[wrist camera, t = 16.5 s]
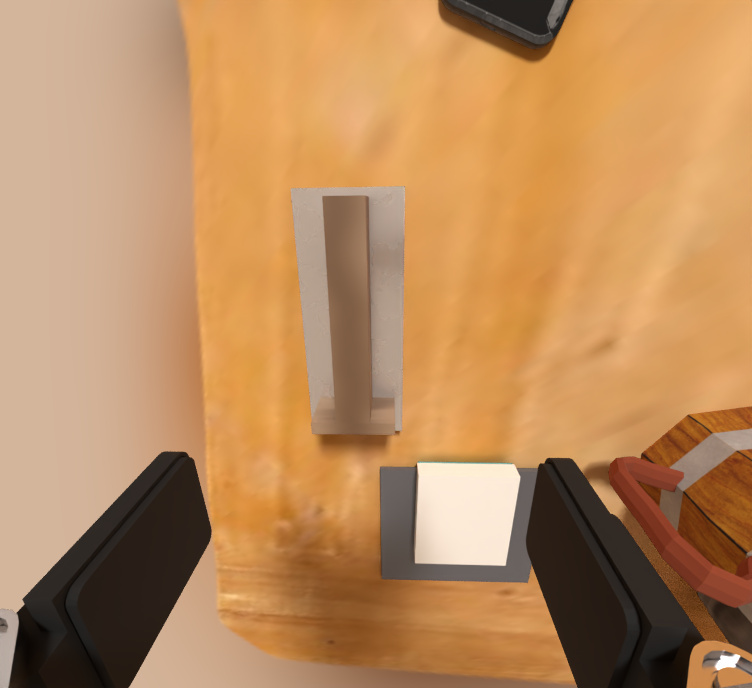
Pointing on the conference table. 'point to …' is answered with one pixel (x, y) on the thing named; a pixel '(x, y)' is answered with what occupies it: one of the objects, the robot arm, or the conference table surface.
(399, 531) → the mat
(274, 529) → the conference table surface
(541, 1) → the phone
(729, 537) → the mug
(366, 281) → the brown t-shaped post
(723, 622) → the beverage cup
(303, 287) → the tool rest
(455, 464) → the tile
